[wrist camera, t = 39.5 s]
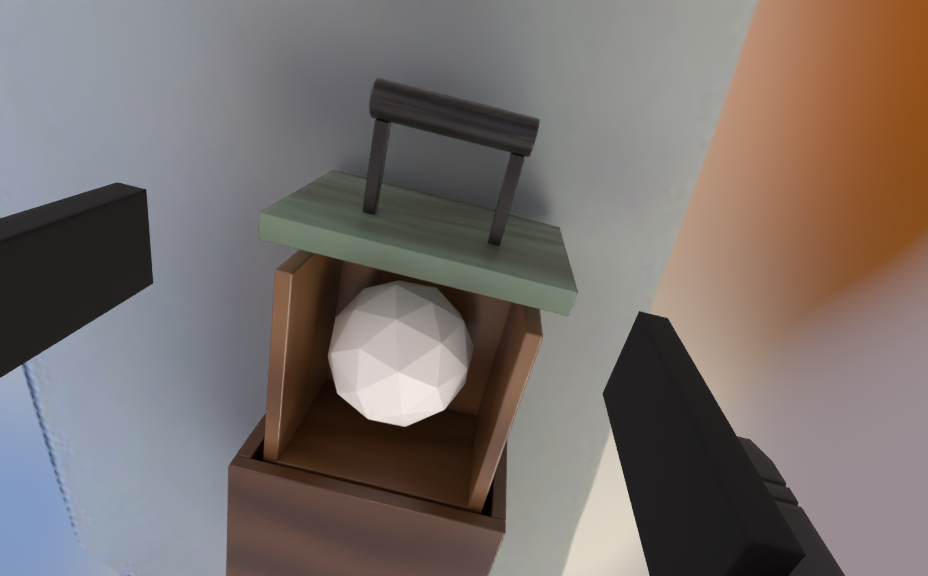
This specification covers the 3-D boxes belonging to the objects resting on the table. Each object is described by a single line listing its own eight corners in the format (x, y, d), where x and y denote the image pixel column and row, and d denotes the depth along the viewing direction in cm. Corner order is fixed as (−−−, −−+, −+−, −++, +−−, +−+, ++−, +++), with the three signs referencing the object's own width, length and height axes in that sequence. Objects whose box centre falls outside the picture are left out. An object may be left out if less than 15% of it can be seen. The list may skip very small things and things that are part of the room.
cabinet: (308, 353, 34) (227, 465, 24) (508, 402, 34) (506, 533, 25) (292, 504, 41) (224, 639, 31) (459, 544, 41) (443, 691, 31)
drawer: (344, 60, 25) (265, 57, 17) (593, 123, 25) (631, 150, 17) (310, 373, 34) (247, 468, 26) (496, 419, 34) (490, 527, 26)
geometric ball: (393, 283, 32) (313, 258, 25) (506, 305, 29) (452, 284, 21) (367, 397, 31) (277, 405, 24) (479, 432, 28) (413, 455, 21)
